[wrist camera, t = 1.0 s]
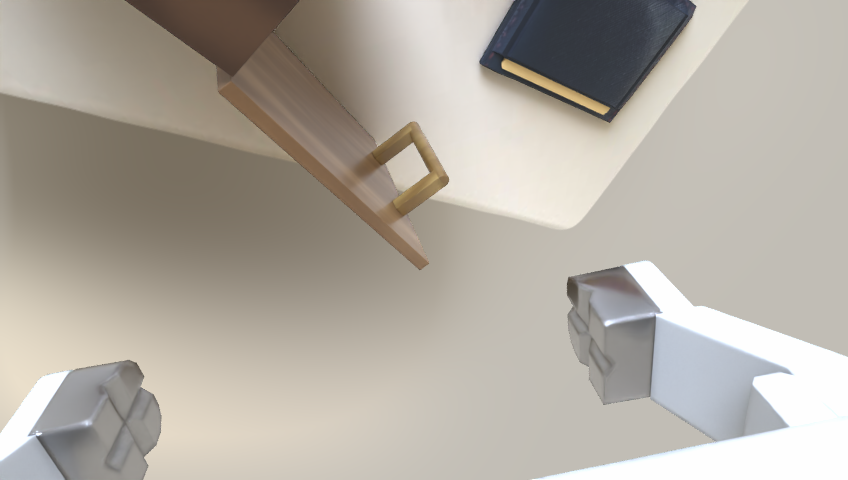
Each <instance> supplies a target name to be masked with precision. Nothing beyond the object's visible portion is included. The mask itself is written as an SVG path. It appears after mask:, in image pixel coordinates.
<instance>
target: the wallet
mask: <svg viewBox="0 0 848 480" xmlns="http://www.w3.org/2000/svg"><path fill="white" fill-rule="evenodd" d="M695 8H696V5H694V4H693V3H692V2H691V1H689V0H515V1H514V3H513V5H512V6H511V8H510V10H509V11H508V13H507V15H506V16H505V18H504V20H503V21H502V23H501V25H500V26H499V28H498V30H497V32H496V33H495V35H494V37H493V39H492V41H491V42H490V44H489V46H488V48H487V49H486V51H485V53H484V55H483V56H482V58H481V60H480V61H479V62H480V64H481V65H483V66H485V67H487V68H489V69H491V70H493V71H495V72H497V73H499V74H502V75H504V76H507V77H509V78H512V79H514V80H517V81H519V82H521V83H523V84H525V85H528V86H530V87H532V88H534V89H537V90H539V91H541V92H543V93H545V94H548V95H550V96H552V97H554V98H556V99H559V100H561V101H563V102H565V103H568V104H570V105H572V106H574V107H576V108H579V109H581V110H583V111H585V112H587V113H590V114H592V115H594V116H596V117H598V118H601V119H603V120H605V121H607V122H609V123H610V122H611V121H612V120H613V118H614V117H615V116H616V114H617V113H618V112H619V110H620V109H621V108H622V107H623V106H624V105H625V103H626V102H627V101H628V100H629V99H630V97H631V96H632V95H633V94H634V92H635V91H636V90H637V88H638V87H639V86H640V85H641V83H642V82H643V81H644V79H645V78H646V77H647V75H648V74H649V73H650V72H651V70H652V69H653V68H654V66H655V65H656V64H657V63H658V61H659V60H660V59H661V57H662V56H663V55H664V54H665V52H666V51H667V50H668V48H669V47H670V46H671V44H672V43H673V42H674V41H675V39H676V38H677V37H678V35H679V34H680V33H681V31H682V30H683V29H684V27H685V26H686V25H687V23H688V22H689V21H690V19H691V18H692V16H693V13H694V11H695Z"/></svg>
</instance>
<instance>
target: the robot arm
mask: <svg viewBox="0 0 848 480" xmlns="http://www.w3.org/2000/svg"><path fill="white" fill-rule="evenodd" d="M567 296H568V298H569V299H570V301H571V303H572V304H573V308H572V309H571V310H570V312H569V313H568V329H569V334H570V339H571V343H572V346H573V349H574V351H575V353H576V356H577V357H578V359H579V361H580V362H581V363H582V364H584V365H586V366H588V367H589V380H590V381H591V383H592V385H593V387H594V389H595V390H596V392H597V394H598V396H599V397H600V399H601V401H602V403H603V405H605V404H611V403H617V402H623V401H629V400H634V399H640V398H646V397H650V399H651V400H653V401H654V402H656V403H657V404H659V405H661V406H662V407H663V408H665V409H667V410H668V411H670V412H671V413H673V414H674V415H676V416H678V417H679V418H681V419H682V420H683V421H685V422H687V423H688V424H690V425H691V426H693V427H694V428H696V429H697V430H699V431H701V432H702V433H704V434H705V435H707V436H708V437H710V438H711V439H713V440H714V441H716V442H713V443H708V444H703V445H698V446H693V447H688V448H684V449H679V450H674V451H669V452H664V453H659V454H654V455H649V456H645V457H640V458H635V459H630V460H626V461H621V462H616V463H611V464H607V465H601V466H597V467H591V468H587V469H581V470H576V471H571V472H566V473H561V474H556V475H551V476H547V477H541V478H537V479H531V480H848V357H846V356H843V355H841V354H838V353H835V352H832V351H829V350H826V349H824V348H821V347H818V346H815V345H812V344H809V343H807V342H804V341H801V340H798V339H795V338H792V337H790V336H787V335H783V334H781V333H778V332H775V331H773V330H769V329H767V328H764V327H761V326H758V325H756V324H753V323H750V322H747V321H744V320H741V319H738V318H736V317H733V316H730V315H727V314H724V313H722V312H719V311H716V310H713V309H710V308H707V307H705V306H698V307H694V306H693V305H692V304H691V303H690V302H689V301H688V300H687V299H686V298H685V297H684V296H683V295H682V294H681V293H680V292H679V291H678V290H677V289H676V288H675V287H674V285H673V284H672V283H671V282H670V281H669V280H668V279H667V278H666V277H665V276H664V275H663V274H662V273H661V272H660V271H659V270H658V269H657V268H656V267H655V266H654V265H653V264H652V262H650V261H647V260H644V261H640V262H635V263H631V264H626V265H622V266H620V267H615V268H611V269H605V270H601V271H595V272H591V273H586V274H581V275H576V276H571V277H568V282H567ZM143 379H144V375H143V373H142V372H141V370H140V368H139V366H138V365H137V363H135V362H133V361H130V360H126V361H120V362H114V363H108V364H102V365H97V366H91V367H86V368H79V369H75V370H68V371H62V372H57V373H52V374H48V375H46V376H44V377H41V378H40V379H39V380H38V382H37V383H36V384H35V386H34V387H33V389H32V390H31V391H30V393H29V394H28V396H27V397H26V398H25V400H24V401H23V403H22V404H21V405H20V407H19V408H18V410H17V411H16V413H15V414H14V415H13V417H12V418H11V420H10V421H9V422H8V424H7V425H6V427H5V428H4V429H3V431H2V432H1V434H0V480H143V478H144V476H145V473H146V471H147V468H148V464H147V462H146V460H145V459H144V456H145V455H146V454H148V453H149V451H151V450H152V449H153V448H154V447H155V446H156V444H157V441H158V439H159V435H160V433H161V413H160V409H159V404H158V402H157V400H156V398H155V396H154V395H153V394H152V393H150V392H148V391H147V390H145V389H143V388H141V384H142V381H143Z"/></svg>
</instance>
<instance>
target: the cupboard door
mask: <svg viewBox="0 0 848 480" xmlns="http://www.w3.org/2000/svg"><path fill="white" fill-rule="evenodd" d="M216 69H217V82H218V92H219V93H220V94H221V95H222V96H223V97H224V98H226V99H227V100H228V101H229V102H230V103H231V104H232V105H234V106H235V107H236V108H237V109H238V110H239V111H240V112H241V113H243V114H244V115H245V116H246V117H247V118H248V119H249V120H250V121H252V122H253V123H254V124H255V125H256V126H257V127H258V128H260V129H261V130H262V131H263V132H264V133H265V134H266V135H267V136H269V137H270V138H271V139H272V140H273V141H274V142H275V143H277V144H278V145H279V146H280V147H281V148H282V149H283V150H284V151H286V152H287V153H288V154H289V155H290V156H291V157H292V158H294V159H295V160H296V161H297V162H298V163H299V164H300V165H301V166H303V167H304V168H305V169H306V170H307V171H308V172H309V173H310V174H312V175H313V176H314V177H315V178H316V179H317V180H318V181H320V182H321V183H322V184H323V185H324V186H325V187H326V188H327V189H329V190H330V191H331V192H332V193H333V194H334V195H335V196H337V197H338V198H339V199H340V200H341V201H342V202H343V203H344V204H346V205H347V206H348V207H349V208H350V209H351V210H352V211H353V212H355V213H356V214H357V215H358V216H359V217H360V218H361V219H363V220H364V221H365V222H366V223H367V224H368V225H369V226H371V227H372V228H373V229H374V230H375V231H376V232H377V233H378V234H380V235H381V236H382V237H383V238H384V239H385V240H386V241H388V242H389V243H390V244H391V245H392V246H393V247H394V248H395V249H397V250H398V251H399V252H400V253H401V254H402V255H403V256H405V257H406V258H407V259H408V260H409V261H410V262H411V263H412V264H414V265H415V266H416V267H417V268H418V269H419V270H421V269H422V268H423V267H425V266H426V265H428V264H429V261H428V259H427V257H426V255H425V253H424V250H423V248H422V246H421V244H420V241H419V239H418V237H417V234H416V232H415V230H414V228H413V225H412V223H411V221H410V219H409V216H408V213H409V212H410V211H412V210H413V209H414V208H416V207H417V206H419V205H420V204H421V203H423V202H424V201H425V200H427V199H428V198H429V197H431V196H432V195H434V194H435V193H436V192H438V191H439V190H440V189H442V188H443V187H445V186H446V185H447V184H448V182H449V177H448V176H447V174H446V172H445V170H444V169H443V167H442V165H441V163H440V162H439V160H438V158H437V156H436V154H435V153H434V151H433V149H432V147H431V146H430V144H429V142H428V140H427V139H426V137H425V135H424V133H423V132H422V130H421V128H420V126H419V125H418V123H417V122H410V123H409V124H407V125H406V126H405V127H404V128H402V129H401V130H400V131H398V132H397V133H396V134H394V135H393V136H392V137H391V138H389V139H388V140H387V141H385V142H384V143H383V144H381V145H380V146H379V147H378V146H377V144H376V142H375V141H374V140H373V138H372V137H371V136H370V135H369V134H368V133H367V132H366V131H365V130H364V129H363V128H362V127H361V126H360V125H359V123H358V122H357V121H356V120H355V119H354V118H353V117H352V116H351V115H350V114H349V113H348V112H347V111H346V110H345V108H344V107H343V106H342V105H341V104H340V103H339V102H338V101H337V100H336V99H335V98H334V97H333V96H332V95H331V94H330V92H329V91H328V90H327V89H326V88H325V87H324V86H323V85H322V84H321V83H320V82H319V81H318V80H317V79H316V77H315V76H314V75H313V74H312V73H311V72H310V71H309V70H308V69H307V68H306V67H305V66H304V65H303V64H302V62H301V61H300V60H299V59H298V58H297V57H296V56H295V55H294V54H293V53H292V52H291V51H290V50H289V49H288V48H287V46H286V45H285V44H284V43H283V42H282V41H281V40H280V39H279V38H278V37H277V36H276V35H275V34H274V33H273V32H272V33H271V34H270V35H269V36H268V37H267V39H266V40H265V41H264V42H263V43H262V44H261V45H260V47H259V48H258V49H257V50H256V51H255V52H254V54H253V55H252V56H251V57H250V58H249V59H248V60H247V62H246V63H245V64H244V65H243V66H242V67H241V69H240V70H239V71H238V72H237V73H236V74H235V76H234V77H232V76H230V75H229V74H227V73H226V72H225V71H223V70H222V69H220V68H219V67H218V66H216ZM412 142H414V144H415V146H416V148H417V150H418V152H419V154H420V155H421V157H422V159H423V161H424V163H425V165H426V167H427V169H428V170H429V172H430V173H429V174H428V175H427V176H425V177H424V178H423V179H421V180H420V181H419V182H417V183H416V184H415V185H413V186H412V187H410V188H409V189H408V190H406V191H405V192H404V193H403V194H401V195H400V196H399V194H398V192H397V189H396V187H395V185H394V182H393V180H392V178H391V176H390V173H389V171H388V169H387V167H386V164H385V163H386V162H387V161H389V160H390V159H391V158H393V157H394V156H395V155H397V154H398V153H399V152H401V151H402V150H403V149H405V148H406V147H407V146H408V145H410V144H411V143H412Z"/></svg>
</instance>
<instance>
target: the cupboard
mask: <svg viewBox="0 0 848 480" xmlns="http://www.w3.org/2000/svg"><path fill="white" fill-rule="evenodd" d="M125 1H127V2H128V3H129V4H131V5H132V6H134V7H135V8H136V9H138V10H139V11H141V12H142V13H143V14H145V15H146V16H148V17H149V18H150V19H152V20H153V21H155V22H156V23H157V24H159V25H160V26H162V27H163V28H164V29H166V30H167V31H169V32H170V33H171V34H173V35H174V36H176V37H177V38H178V39H180V40H181V41H183V42H184V43H185V44H187V45H188V46H190V47H191V48H192V49H194V50H195V51H197V52H198V53H199V54H201V55H202V56H204V57H205V58H206V59H208V60H209V61H211V62H212V63H213V64H215V65H216V66H218V67H219V68H220V69H222V70H223V71H225V72H226V73H227V74H229V75H230V76H232V77H234V76H235V74H236V73H237V72H238V71H239V70H240V69H241V67H242V66H243V65H244V64H245V63H246V62H247V60H248V59H249V58H250V57H251V56H252V55H253V54H254V52H255V51H256V50H257V49H258V48H259V47H260V45H261V44H262V43H263V42H264V41H265V40H266V39H267V37H268V36H269V35H270V34H271V33H272V32H273V30H274V29H275V28H276V27H277V26H278V25H279V23H280V22H281V21H282V20H283V19H284V18H285V17H286V15H287V14H288V13H289V12H290V11H291V10H292V8H293V7H294V6H295V5H296V4H297V3H298V2H299V0H125Z"/></svg>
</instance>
